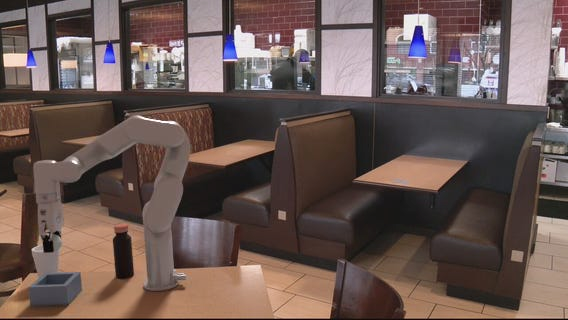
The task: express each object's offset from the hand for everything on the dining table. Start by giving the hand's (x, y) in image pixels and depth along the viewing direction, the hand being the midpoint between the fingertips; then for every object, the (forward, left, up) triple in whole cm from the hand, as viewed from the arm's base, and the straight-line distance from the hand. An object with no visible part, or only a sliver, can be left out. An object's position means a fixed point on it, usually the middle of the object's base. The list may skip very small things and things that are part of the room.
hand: (52, 248), depth 175 cm
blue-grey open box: (0, 0, -18) cm, 18 cm away
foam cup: (+10, -17, -18) cm, 27 cm away
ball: (0, 0, +2) cm, 2 cm away
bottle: (-18, -19, -18) cm, 32 cm away
